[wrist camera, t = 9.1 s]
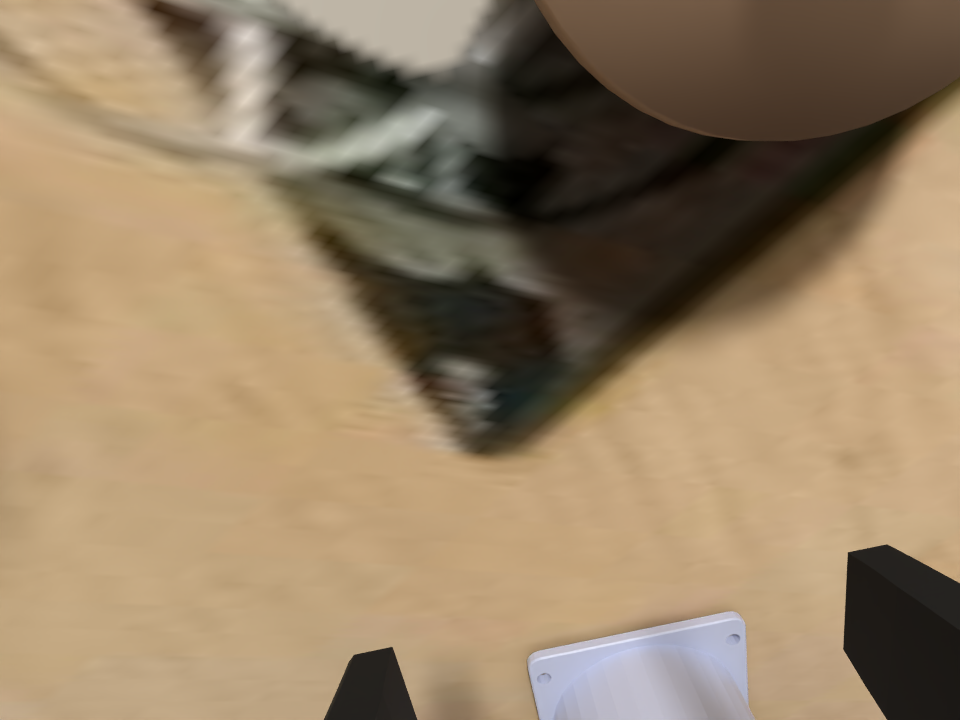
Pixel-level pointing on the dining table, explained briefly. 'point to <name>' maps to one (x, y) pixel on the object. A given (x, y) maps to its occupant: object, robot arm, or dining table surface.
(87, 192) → the dining table surface
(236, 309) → the dining table surface
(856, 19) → the lid
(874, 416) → the dining table surface
